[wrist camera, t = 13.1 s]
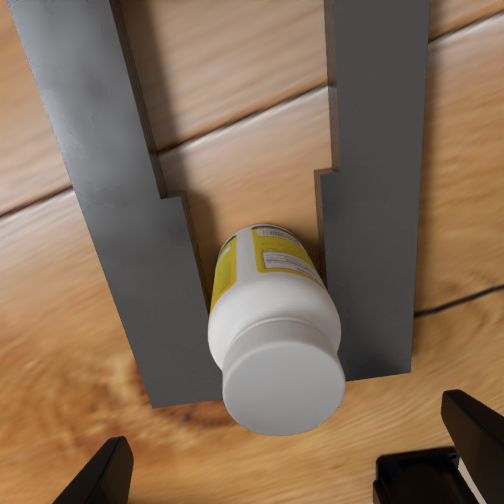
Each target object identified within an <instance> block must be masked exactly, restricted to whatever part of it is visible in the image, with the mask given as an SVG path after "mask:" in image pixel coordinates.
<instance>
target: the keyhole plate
mask: <svg viewBox="0 0 504 504" xmlns="http://www.w3.org/2000/svg"><path fill="white" fill-rule="evenodd" d="M6 1H7V4H8V7H9V9H10V12H11V15H12V18H13V21H14V23H15V26H16V29H17V32H18V34H19V37H20V40H21V43H22V46H23V48H24V51H25V54H26V57H27V60H28V62H29V65H30V68H31V71H32V73H33V76H34V79H35V82H36V85H37V87H38V90H39V93H40V96H41V99H42V101H43V104H44V107H45V110H46V112H47V115H48V118H49V121H50V124H51V126H52V129H53V132H54V135H55V138H56V140H57V143H58V146H59V149H60V151H61V154H62V157H63V160H64V163H65V165H66V168H67V171H68V174H69V177H70V179H71V182H72V185H73V188H74V191H75V193H76V196H77V199H78V202H79V204H80V207H81V210H82V213H83V216H84V218H85V221H86V224H87V227H88V230H89V232H90V235H91V238H92V241H93V243H94V246H95V249H96V252H97V255H98V257H99V260H100V263H101V266H102V269H103V271H104V274H105V277H106V280H107V282H108V285H109V288H110V291H111V294H112V296H113V299H114V302H115V305H116V308H117V310H118V313H119V316H120V319H121V321H122V324H123V327H124V330H125V333H126V335H127V338H128V341H129V344H130V347H131V349H132V352H133V355H134V358H135V360H136V363H137V366H138V369H139V372H140V374H141V377H142V380H143V383H144V386H145V388H146V391H147V394H148V397H149V400H150V402H151V405H152V408H160V407H167V406H175V405H182V404H189V403H196V402H203V401H210V400H218V399H223V373H222V370H221V369H220V368H219V367H218V365H217V364H216V362H215V360H214V358H213V356H212V354H211V351H210V347H209V343H208V323H209V315H210V308H211V302H210V298H209V294H208V289H207V285H206V280H205V276H204V272H203V267H202V263H201V258H200V254H199V250H198V245H197V241H196V236H195V232H194V228H193V223H192V219H191V214H190V210H189V206H188V201H187V197H186V192H185V191H178V192H172V193H167V192H166V188H165V184H164V180H163V176H162V172H161V168H160V164H159V160H158V156H157V152H156V148H155V144H154V140H153V136H152V132H151V128H150V124H149V120H148V116H147V112H146V108H145V104H144V100H143V96H142V92H141V88H140V84H139V80H138V76H137V72H136V68H135V64H134V60H133V56H132V52H131V48H130V44H129V40H128V36H127V32H126V28H125V24H124V20H123V16H122V12H121V8H120V4H119V0H6ZM324 14H325V34H326V54H327V73H328V93H329V113H330V133H331V153H332V168H327V169H320V170H314V182H315V196H316V209H317V223H318V237H319V251H320V265H321V279H322V282H323V284H324V286H325V288H326V290H327V291H328V293H329V295H330V297H331V299H332V301H333V303H334V305H335V307H336V310H337V312H338V315H339V319H340V324H341V339H340V344H339V348H338V351H337V356H338V358H339V361H340V364H341V366H342V369H343V372H344V375H345V382H347V381H354V380H361V379H368V378H375V377H382V376H390V375H397V374H404V373H411V354H412V335H413V316H414V298H415V279H416V260H417V241H418V222H419V203H420V184H421V165H422V146H423V127H424V108H425V89H426V70H427V51H428V32H429V14H430V0H324Z"/></svg>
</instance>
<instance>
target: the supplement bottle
mask: <svg viewBox="0 0 504 504" xmlns="http://www.w3.org/2000/svg"><path fill="white" fill-rule="evenodd" d="M340 339H341V324H340V319H339V315H338V312H337V310H336V307H335V305H334V303H333V301H332V299H331V297H330V295H329V293H328V291H327V290H326V288H325V286H324V284H323V282H322V280H321V278H320V276H319V274H318V273H317V271H316V269H315V267H314V265H313V263H312V261H311V259H310V257H309V256H308V254H307V252H306V250H305V249H304V247H303V245H302V244H301V242H300V241H299V240H298V239H297V237H295V236H294V235H293V234H292V233H291V232H289V231H288V230H286V229H284V228H282V227H279V226H276V225H271V224H256V225H251V226H248V227H245V228H243V229H241V230H239V231H237V232H236V233H234V234H233V235H232V236H231V237H230V238H229V239H228V240H227V241H226V242H225V243H224V245H223V246H222V248H221V250H220V252H219V255H218V259H217V264H216V270H215V279H214V287H213V294H212V301H211V308H210V315H209V323H208V343H209V347H210V351H211V354H212V356H213V358H214V360H215V362H216V364H217V365H218V367H219V368H220V369H221V370H222V373H223V400H224V403H225V406H226V409H227V410H228V412H229V414H230V415H231V416H232V417H233V419H234V420H235V421H236V422H238V423H239V424H240V425H241V426H243V427H245V428H246V429H248V430H250V431H253V432H256V433H259V434H263V435H269V436H290V435H296V434H300V433H303V432H307V431H309V430H312V429H314V428H316V427H318V426H319V425H321V424H322V423H324V422H325V421H327V420H328V419H329V418H330V417H331V416H332V415H333V414H334V413H335V412H336V410H337V409H338V408H339V406H340V404H341V402H342V400H343V398H344V394H345V388H346V383H345V375H344V372H343V369H342V366H341V364H340V361H339V358H338V356H337V351H338V348H339V344H340Z"/></svg>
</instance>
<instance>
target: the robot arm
mask: <svg viewBox="0 0 504 504" xmlns="http://www.w3.org/2000/svg"><path fill="white" fill-rule="evenodd" d="M441 416H442V420H443V422H444V424H445V426H446V428H447V430H448V432H449V434H450V436H451V438H452V440H453V442H454V444H455V446H456V448H457V450H458V452H459V453H458V452H457V450H456V449H455V448H447V449H439V450H432V451H424V452H417V453H409V454H402V455H394V456H387V457H381V458H378V459H377V460H376V480H374V482H373V503H374V504H479V502H478V501H477V499H476V498H475V496H474V494H473V493H472V491H471V489H470V488H469V487H468V485H467V483H466V481H465V480H464V478H463V477H462V475H461V473H460V472H459V470H458V465H459V458H460V456H461V458H462V460H463V462H464V464H465V466H466V468H467V470H468V472H469V474H470V476H471V478H472V480H473V482H474V483H475V485H476V487H477V488H478V490H479V492H480V494H481V495H482V497H483V498H484V500H485V502H486V503H487V504H504V417H503V416H502V415H500V414H499V413H497V412H495V411H494V410H492V409H491V408H489V407H487V406H486V405H484V404H483V403H481V402H479V401H478V400H476V399H475V398H473V397H471V396H470V395H468V394H467V393H465V392H463V391H462V390H459V389H455V390H448V391H444V393H443V396H442V405H441ZM459 454H460V455H459ZM133 464H134V457H133V453H132V451H131V449H130V446H129V444H128V442H127V439H126V438H125V437H124V436H118V437H112V438H110V439H108V440H107V441H106V442H105V443H104V445H103V446H102V447H101V448H100V449H99V450H98V451H97V453H96V454H95V455H94V456H93V457H92V458H91V459H90V461H89V462H88V463H87V464H86V465H85V466H84V467H83V469H82V470H81V471H80V472H79V473H78V474H77V475H76V477H75V478H74V479H73V480H72V481H71V482H70V483H69V485H68V486H67V487H66V488H65V489H64V490H63V491H62V493H61V494H60V495H59V496H58V497H57V498H56V499H55V501H54V502H53V503H52V504H127V501H128V495H129V489H130V482H131V476H132V470H133Z"/></svg>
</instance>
